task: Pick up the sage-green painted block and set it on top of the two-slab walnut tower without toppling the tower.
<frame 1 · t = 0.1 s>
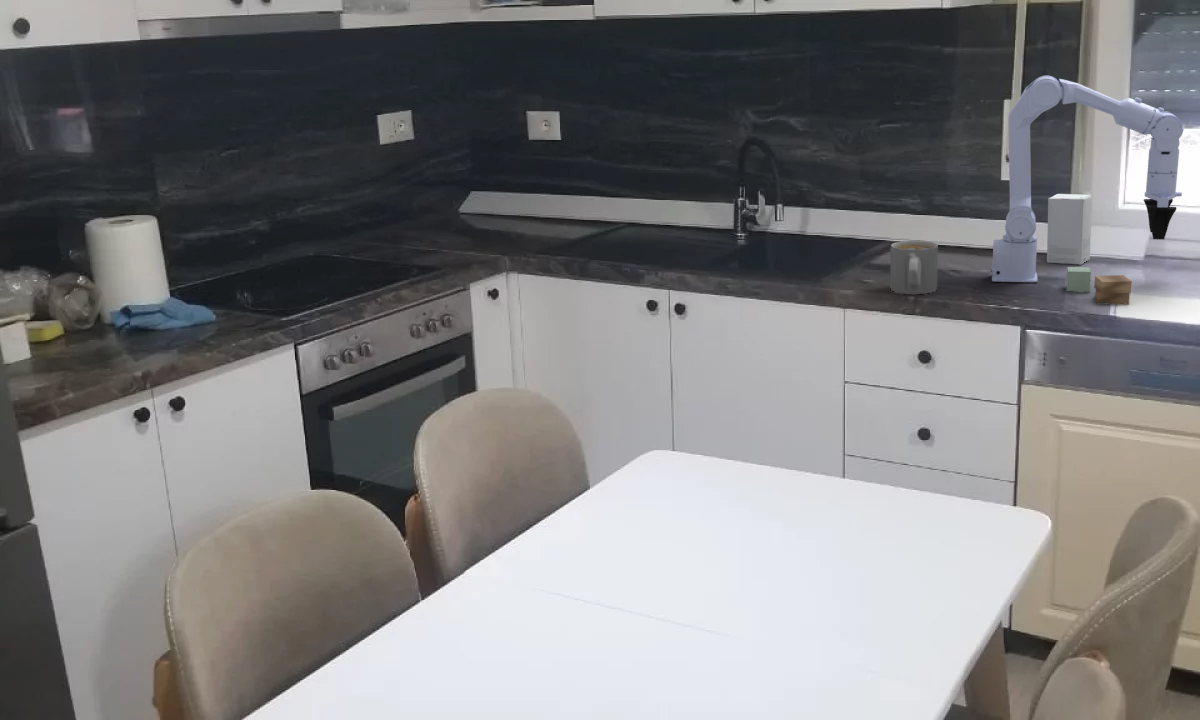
hand: (1157, 235, 251), 10 cm above the table, tool pointing down, fingers open, 7 cm apart
tower top: (1112, 290, 240), point 2 cm above the table, touching tower base
block: (1077, 289, 251), on the table
coffee mug: (911, 292, 257), on the table
tower base: (1111, 302, 241), on the table, touching tower top
skincare box: (1067, 262, 277), on the table
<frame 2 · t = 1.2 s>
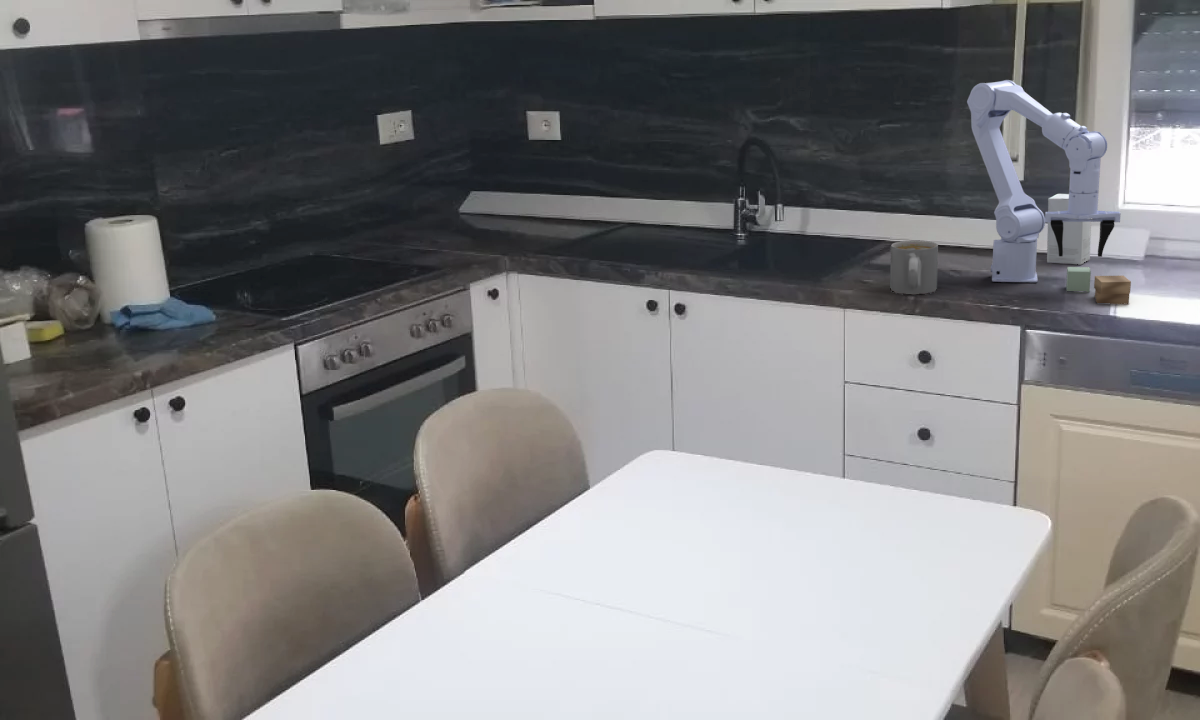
hand: (1080, 255, 249), 7 cm above the table, tool pointing down, fingers open, 7 cm apart
tower top: (1111, 290, 240), point 2 cm above the table
tower base: (1111, 302, 241), on the table
everything else where it was.
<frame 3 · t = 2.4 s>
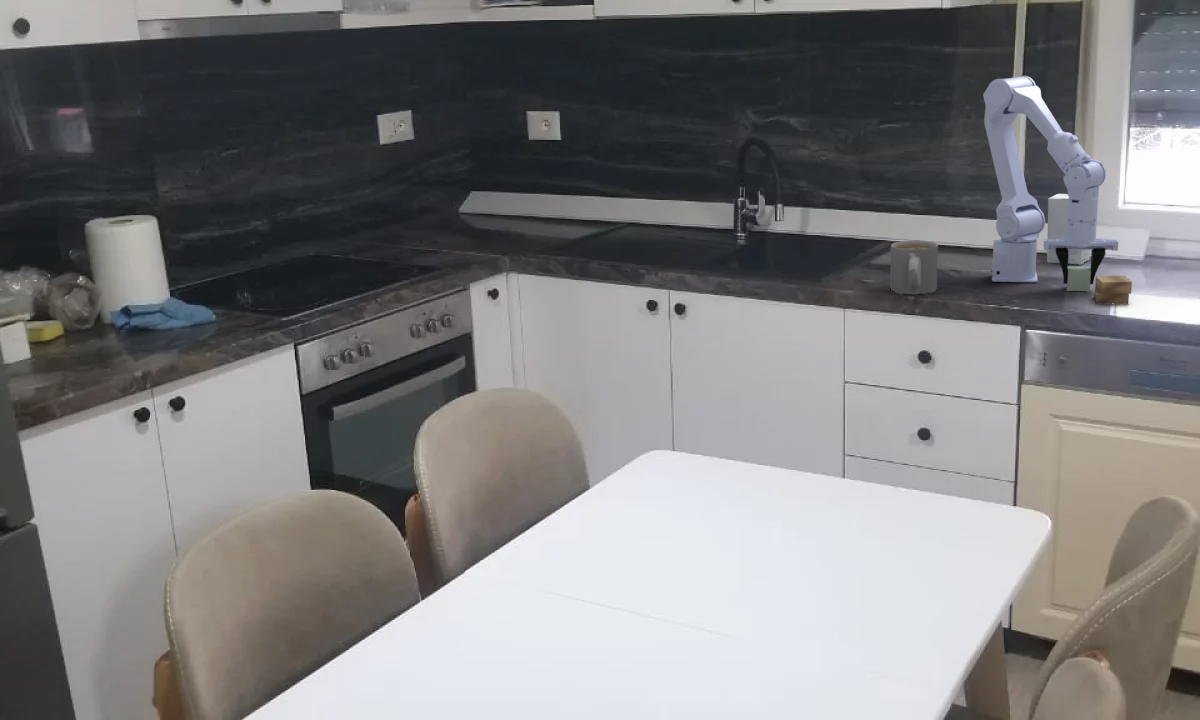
hand: (1078, 282, 250), 1 cm above the table, tool pointing down, fingers closed on block, 4 cm apart
block: (1077, 289, 251), on the table, touching gripper
everything else where it was.
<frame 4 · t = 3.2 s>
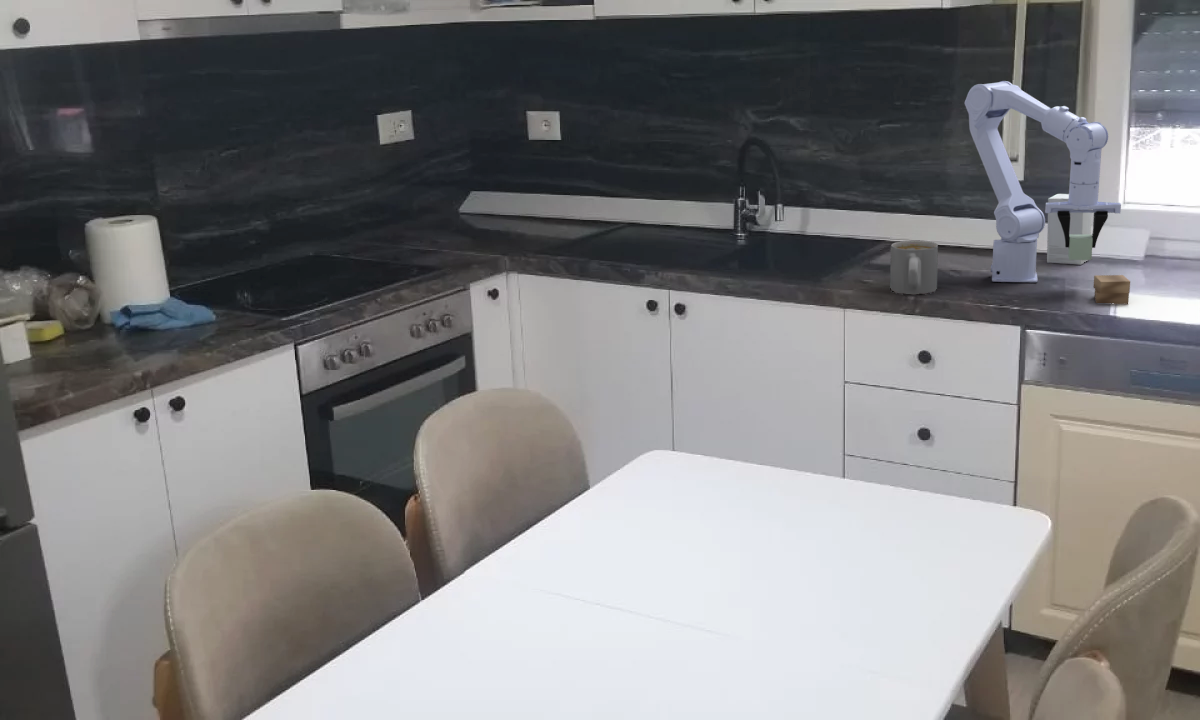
hand: (1080, 246, 248), 9 cm above the table, tool pointing down, fingers closed on block, 4 cm apart
tower top: (1111, 290, 240), point 2 cm above the table, touching tower base
block: (1079, 257, 249), point 7 cm above the table, touching gripper
tower base: (1110, 302, 241), on the table, touching tower top
everything else where it was.
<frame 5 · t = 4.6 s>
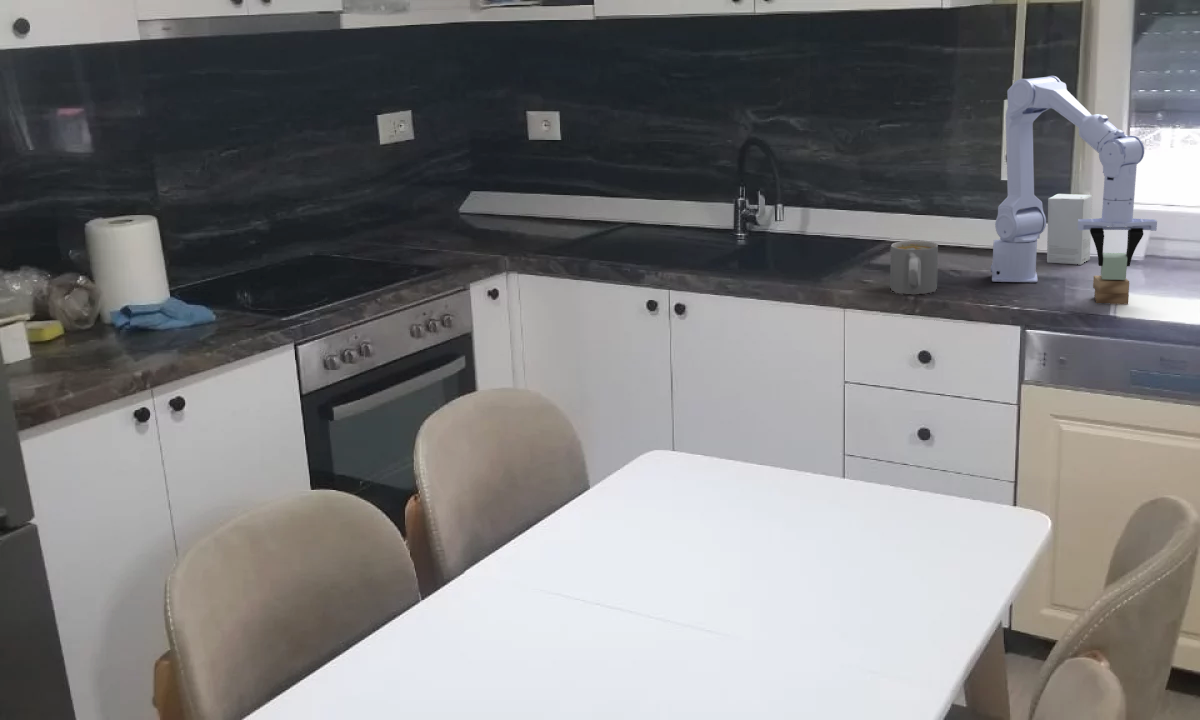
hand: (1113, 265, 239), 7 cm above the table, tool pointing down, fingers closed on block, 4 cm apart
tower top: (1110, 290, 241), point 2 cm above the table
block: (1113, 276, 240), point 5 cm above the table, touching gripper
tower base: (1110, 302, 241), on the table
everything else where it was.
when the fingers open (7 cm above the table, at t = 5.1 s): block stays where it is, point 4 cm above the table.
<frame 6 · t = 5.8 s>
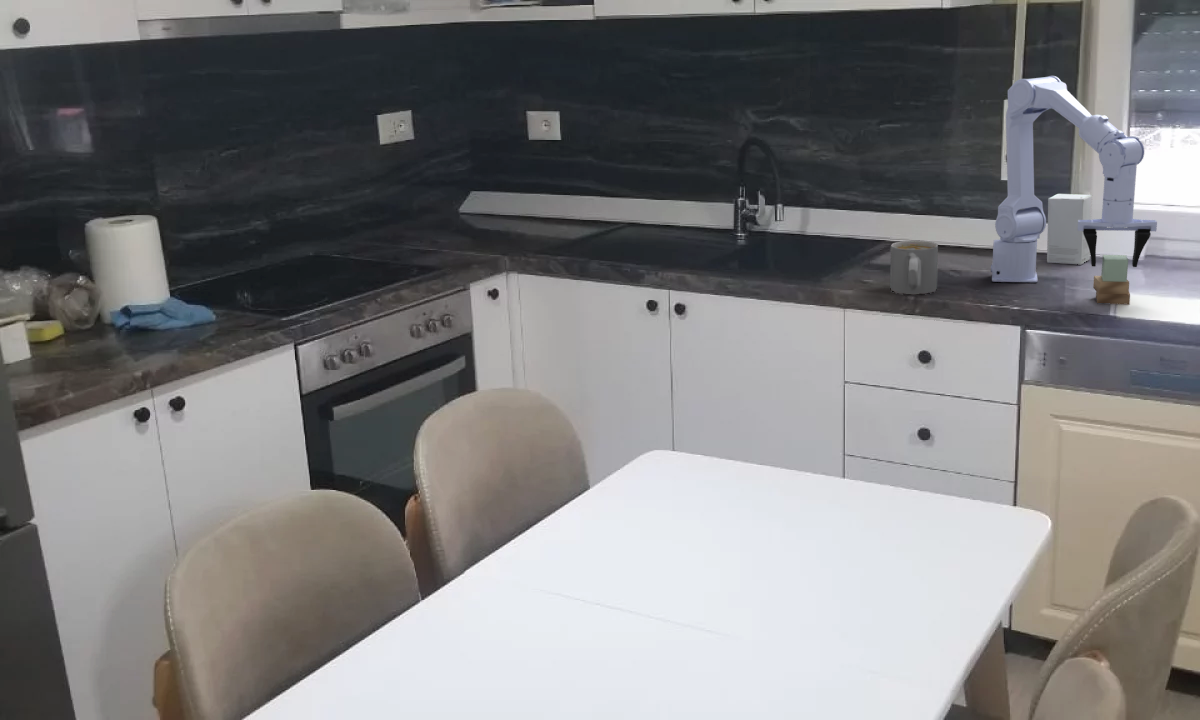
hand: (1113, 265, 239), 7 cm above the table, tool pointing down, fingers open, 7 cm apart
tower top: (1110, 290, 241), point 2 cm above the table, touching tower base
block: (1113, 279, 239), point 4 cm above the table
tower base: (1112, 302, 241), on the table, touching tower top
everything else where it was.
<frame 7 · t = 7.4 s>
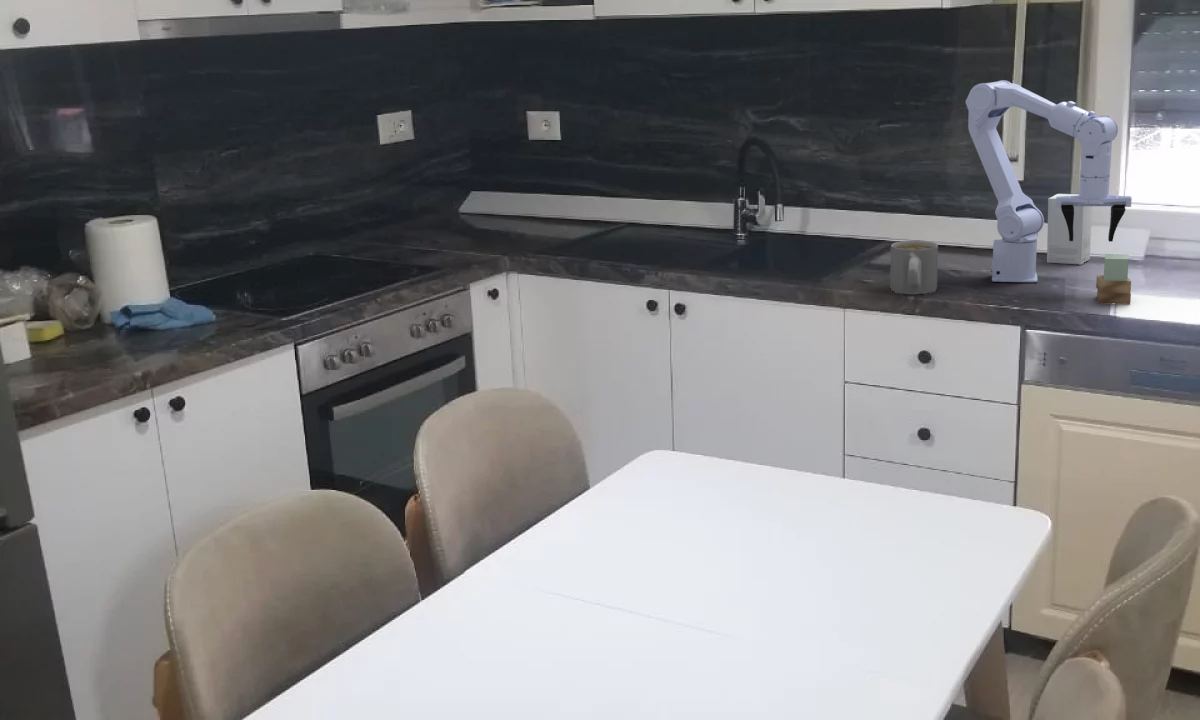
hand: (1090, 240, 248), 10 cm above the table, tool pointing down, fingers open, 7 cm apart
tower top: (1112, 290, 240), point 2 cm above the table, touching block, tower base
block: (1115, 278, 239), point 5 cm above the table, touching tower top
everything else where it was.
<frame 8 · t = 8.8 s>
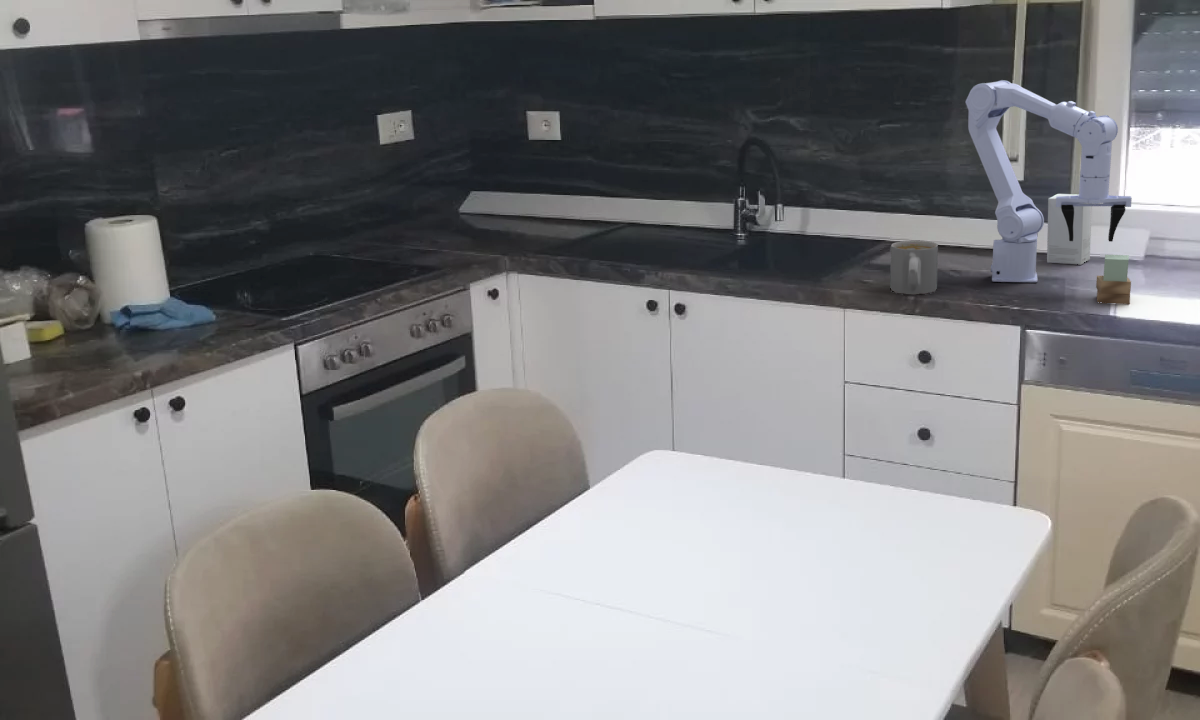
hand: (1090, 240, 248), 10 cm above the table, tool pointing down, fingers open, 7 cm apart
nothing on the table moved.
at the end: block 0.2 cm off-centre on the tower base, point 5.0 cm above the tower base's base; block tilted 0°; tower top 0.1 cm off-centre on the tower base, point 2.5 cm above the tower base's base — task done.
